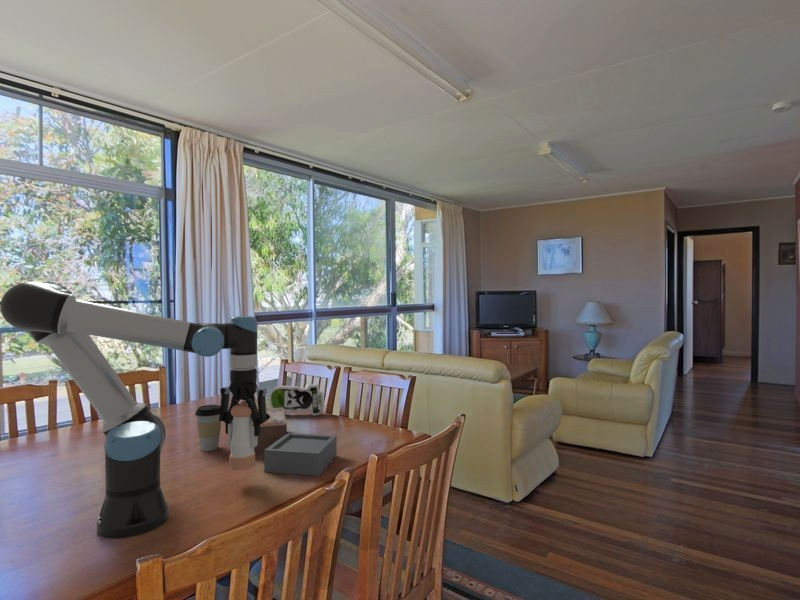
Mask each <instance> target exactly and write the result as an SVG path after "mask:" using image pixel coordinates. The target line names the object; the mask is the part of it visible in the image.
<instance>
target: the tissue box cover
mask: <svg viewBox="0 0 800 600" xmlns="http://www.w3.org/2000/svg"><path fill="white" fill-rule="evenodd" d="M266 415H267V421H266V422H264V423H262V424H261V425H260V435H259V436H258V445H257V446H256V447H254V452H255V454H258V455H263V454H262V453H264V450H265V449H266V448H268V447H269V446H271V445H272V444H273V443H275V442H276V441H277V440H279V439H280V438H282V437H283V436H284V435H286V434H287V433H288V432H287V431H288V430H287V429H288V427H287V426H288V423H287V420H286V414H285V412H284V407H281V408H271V407H268V408H267V407H266Z"/></svg>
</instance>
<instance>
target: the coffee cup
mask: <svg viewBox="0 0 800 600" xmlns="http://www.w3.org/2000/svg"><path fill="white" fill-rule="evenodd" d="M220 406H221V404H220V405H218V404H207V405H201V406H199V407H197V408H196V409H197V410H195V414H194V415H195V416H196V419H197V420H196V423H197V425H196V426H197V432H198V433H197V434H198V438H199V447H200V450H201V451H203V452H209V451H210V452H211V451H215V450H218V448H219V442H220V435H221V427H222V421H220V420H219V415H220Z"/></svg>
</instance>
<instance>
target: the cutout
mask: <svg viewBox="0 0 800 600" xmlns="http://www.w3.org/2000/svg"><path fill="white" fill-rule="evenodd" d="M268 400H269V406H270V408H281V407H284V412H285V415H287V412H289V413H298V412H307V411H309V415H310V416H316V415H318V414H320V415H321V413H322V412H323V410H324V406H325V400H324V392H322V391H320V385H319V384H317V383H316V384H313V383H312V384H310V385H308V387H300V386H298V385H293V386H291V385H279V386H275V387H274V388H273V389H272V390H271V391H270V393H269V396H268ZM318 416H319V415H318Z"/></svg>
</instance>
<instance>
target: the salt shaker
mask: <svg viewBox="0 0 800 600" xmlns="http://www.w3.org/2000/svg"><path fill="white" fill-rule="evenodd" d="M251 413H252V412H251V409H250V408H249V407H248V404H246V401H245V400H242V401H240V403H238V404H237V405H235V406H233V407H232V409H231V415H232V416H233V421H232V422H233V434H232V439H231V446H230V454H229V457H228V458H229V459H228V462H229V467H228V468H229V469H230V470H233V471H246V470H249V469H252V468H254V467H255V466H256V455H255V452H254V448H251V426H252V425H253V421H252V417H251Z"/></svg>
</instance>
